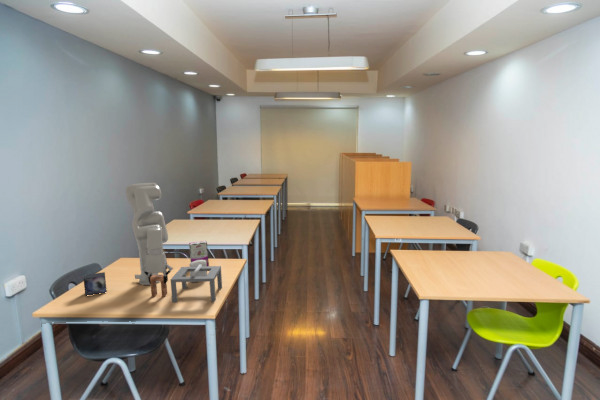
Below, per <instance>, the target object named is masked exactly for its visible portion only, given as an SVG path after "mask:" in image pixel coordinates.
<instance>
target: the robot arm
mask: <svg viewBox="0 0 600 400" xmlns="http://www.w3.org/2000/svg"><path fill="white" fill-rule="evenodd" d="M125 194H126V198H127V201H128V202H129V204H130V206H131V209H132V211H133V219H132V222H131V223H132V230H133V234H134V238H135V240H136V244H137V248H138V254H139V255H138V256H139V267H140V268H139V269H140V274H135V275H134V278H135V280H138V279H139V280H138V283H139V285H141V286H142V285H143V286H151V283H150V277H151V276H152V275H159V274H160V273H161V274H162V275H164V284H165V283H166V284H167V283H168V281H169V279H168V275H169V274H170V273H171V272H172V270H173V269H174V268H173V267H172V266H171V265H169V263H168V261H167V257H166V253H165V252H164V245H163V244H165V243H167V242H168V240H169V234H168V230H167V225H166V222H165V217H164V214H163V213H162V211H157V210H155V207H154V203H153V201H158V200H159V201H160V200H161V198H162V190H161V188H160V186H159V185H158V184H157V183H156V182H145V183H144V182H142V183H132V184H129V185H128V186H126V188H125ZM158 283H161V281H156V284H158Z"/></svg>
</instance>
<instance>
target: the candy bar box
mask: <svg viewBox="0 0 600 400" xmlns="http://www.w3.org/2000/svg"><path fill="white" fill-rule="evenodd" d="M188 246H189V257H190V259H189V260H190V263H191V262H193V261H196V260H205V261H206V263H207V266H210V264H209V262H210V261H209V250H208V242H207V240H201V241H195V242H193V241H192V242H189V243H188Z"/></svg>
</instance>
